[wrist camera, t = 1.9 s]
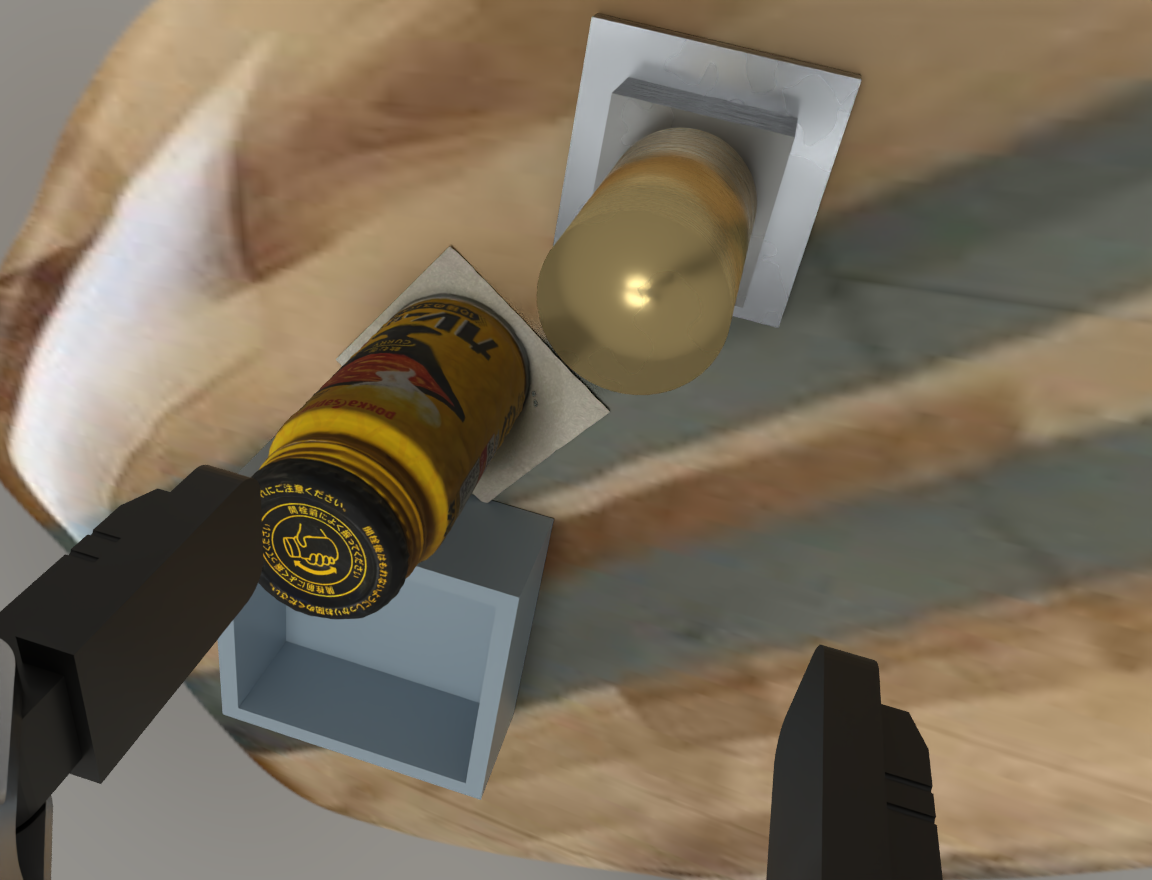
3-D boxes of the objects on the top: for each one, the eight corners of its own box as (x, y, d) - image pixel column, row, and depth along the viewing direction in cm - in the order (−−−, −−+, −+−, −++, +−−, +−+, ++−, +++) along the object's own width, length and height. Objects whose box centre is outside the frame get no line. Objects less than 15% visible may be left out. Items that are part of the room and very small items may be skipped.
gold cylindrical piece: (627, 77, 27) (537, 164, 19) (798, 118, 27) (780, 226, 19) (596, 239, 30) (506, 376, 22) (748, 279, 30) (715, 435, 21)
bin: (274, 436, 39) (208, 502, 35) (553, 518, 38) (519, 597, 34) (277, 639, 46) (222, 714, 42) (513, 714, 45) (480, 799, 41)
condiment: (451, 244, 33) (283, 405, 23) (611, 409, 35) (520, 624, 25) (337, 356, 36) (151, 537, 26) (487, 500, 38) (366, 719, 28)
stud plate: (597, 13, 27) (591, 16, 27) (860, 74, 27) (861, 79, 26) (555, 258, 32) (549, 267, 31) (779, 318, 31) (778, 328, 30)
